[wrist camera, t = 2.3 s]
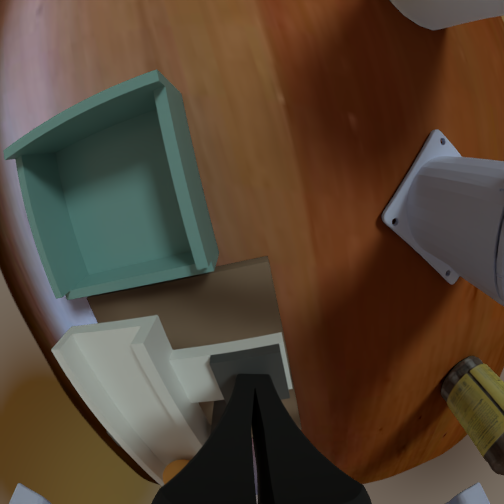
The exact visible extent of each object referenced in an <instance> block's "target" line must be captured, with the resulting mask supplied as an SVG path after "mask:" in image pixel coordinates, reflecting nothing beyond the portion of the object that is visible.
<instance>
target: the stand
mask: <svg viewBox="0 0 504 504" xmlns="http://www.w3.org/2000/svg"><path fill="white" fill-rule="evenodd" d="M87 300H88V302H89V304H90V306H91V309H92V311H93V313H94V315H95V317H96V320H97V322H98V323H105V322H113V321H120V320H127V319H134V318H140V317H147V316H154V315H158V316H159V319H160V321H161V324H162V326H163V329H164V331H165V333H166V336H167V338H168V340H169V343H170V345H171V347H172V349H173V350H176V349H184V348H192V347H199V346H206V345H213V344H219V343H225V342H231V341H237V340H243V339H249V338H254V337H259V336H264V335H270V334H275V333H279V332H282V337H283V342H284V347H285V352H286V357H287V362H288V367H289V372H290V377H291V382H292V388H293V389H289V394H290V398H288V399H283V400H281V401H282V403H283V404H284V406H285V408H286V410H287V411H288V413H289V415H290V416H291V418H292V419H293V421H294V422H295V423H296V425H297V426H298V428H299V429H300V430H301V429H302V428H301V423H300V417H299V412H298V407H297V401H296V396H295V391H294V385H293V380H292V375H291V370H290V364H289V359H288V354H287V349H286V344H285V339H284V334H283V329H282V324H281V319H280V314H279V309H278V304H277V299H276V294H275V289H274V284H273V279H272V274H271V270H270V265H269V260H268V256H265V257H260V258H256V259H251V260H246V261H241V262H237V263H232V264H227V265H222V266H217V267H215V270H214V271H212V272H207V273H203V274H198V275H193V276H188V277H183V278H178V279H173V280H168V281H163V282H158V283H153V284H148V285H143V286H138V287H133V288H128V289H122V290H117V291H112V292H107V293H102V294H97V295H91V296H88V297H87ZM198 403H199V405H200V407H201V409H202V411H203V413H204V414H205V416H206V418H207V420H208V422H209V423H210V425H211V433H212V432H213V430H214V429H215V427H216V425H217V424H218V422H219V420H220V418H221V416H222V414H223V413H224V411H225V409H226V406H227V404H226V402H225V400H217V401H207V402H198ZM107 433H108V434H109V435H110V437H111V438H112V439H113V440H114V441H115V442H116V443H117V444H118V446H120V444H119V443H118V442H117V441H116V440H115V439H114V438H113V437H112V435H111V434H110V433H109V432H108V431H107ZM211 433H210V435H211ZM251 435H252V426H251ZM252 437H253V435H252Z"/></svg>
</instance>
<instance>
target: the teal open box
mask: <svg viewBox="0 0 504 504" xmlns="http://www.w3.org/2000/svg"><path fill="white" fill-rule="evenodd" d="M4 158H5V160H9V159H16V165H17V171H18V177H19V182H20V187H21V192H22V196H23V201H24V205H25V209H26V213H27V217H28V220H29V224H30V227H31V231H32V234H33V238H34V241H35V244H36V247H37V250H38V253H39V256H40V259H41V262H42V264H43V267H44V270H45V272H46V275H47V278H48V280H49V283H50V285H51V288H52V290H53V292H54V295H55V297H56V298H61V297H63V296H64V295H66V298H67V300H70V299H76V298H81V297H86V296H91V295H97V294H102V293H107V292H112V291H117V290H122V289H128V288H133V287H138V286H143V285H148V284H153V283H158V282H163V281H168V280H173V279H178V278H183V277H188V276H193V275H198V274H203V273H207V272H212V271H214V270H215V266H216V262H217V259H218V255H219V251H218V247H217V243H216V239H215V236H214V232H213V228H212V224H211V220H210V216H209V212H208V208H207V204H206V200H205V196H204V192H203V188H202V183H201V179H200V175H199V171H198V167H197V162H196V158H195V154H194V149H193V145H192V141H191V136H190V132H189V127H188V123H187V118H186V113H185V109H184V104H183V99H182V94H181V93H180V92H179V91H178V90H177V89H176V88H175V87H174V86H173V85H172V84H171V83H170V82H169V81H168V80H167V79H166V78H165V77H164V76H163V75H162V74H161V73H160V72H159V71H158V70H154V71H151V72H148V73H145V74H143V75H140V76H137V77H135V78H132V79H130V80H127V81H125V82H122V83H120V84H118V85H115V86H113V87H111V88H109V89H106V90H104V91H102V92H100V93H98V94H96V95H93V96H91V97H89V98H87V99H85V100H83V101H81V102H80V103H78V104H76V105H74V106H72V107H70V108H68V109H66V110H65V111H63V112H61V113H59V114H58V115H56V116H54V117H53V118H51V119H49V120H48V121H46V122H44V123H43V124H41V125H40V126H38V127H36V128H35V129H33V130H32V131H30V132H29V133H27V134H26V135H24V136H23V137H21V138H20V139H19V140H17V141H16V142H14V143H13V144H12V145H10V146H9V147H8V148H6V149H5V150H4Z"/></svg>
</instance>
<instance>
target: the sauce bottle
mask: <svg viewBox="0 0 504 504" xmlns="http://www.w3.org/2000/svg"><path fill="white" fill-rule="evenodd" d="M441 395H442V397H443V398H444V400H445V401H446V402H447V405H448V407H449V408H450V410H451V411H452V413H453V414H454V415H455V417H456V418H457V420H458V421H459V422H460V424H461V425H462V427H463V428H464V429H465V431H466V432H467V434H468V435H469V436H470V438H471V440H472V441H473V443H474V444H475V446H477V449H478V450H479V452H480V453H481V455H482V456H483V458H484V459H485V460H486V461H487V462H488V463H489V465H490V467H491V468H492V470H493V471H494V472H495V473H497V474H501V475H504V382H503V381H502V380H501V379H500V378H499V377H498V376H497V375H496V374H495V373H494V372H493V371H492V370H491V369H490V368H489V367H488V365H486V364H483V363H482V361H481V360H480V359H479V358H477V357H475V356H469V357H468V358H466V359H464V360H462V361H461V362H459V363H458V364H457V365H456V366H455V367H454V368H453V369H452V370H451V372H450V373H449V374H448V376H447V377H446V379H445V380H444V382H443V385H442V389H441Z"/></svg>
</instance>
